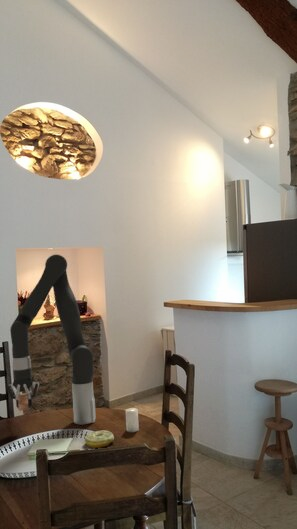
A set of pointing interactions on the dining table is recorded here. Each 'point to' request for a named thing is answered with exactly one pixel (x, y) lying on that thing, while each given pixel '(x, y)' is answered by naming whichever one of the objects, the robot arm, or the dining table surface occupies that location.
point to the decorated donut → (99, 439)
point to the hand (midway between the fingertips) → (24, 407)
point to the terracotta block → (23, 402)
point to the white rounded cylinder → (132, 420)
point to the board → (51, 445)
